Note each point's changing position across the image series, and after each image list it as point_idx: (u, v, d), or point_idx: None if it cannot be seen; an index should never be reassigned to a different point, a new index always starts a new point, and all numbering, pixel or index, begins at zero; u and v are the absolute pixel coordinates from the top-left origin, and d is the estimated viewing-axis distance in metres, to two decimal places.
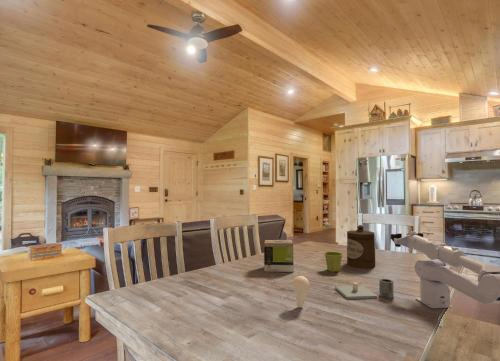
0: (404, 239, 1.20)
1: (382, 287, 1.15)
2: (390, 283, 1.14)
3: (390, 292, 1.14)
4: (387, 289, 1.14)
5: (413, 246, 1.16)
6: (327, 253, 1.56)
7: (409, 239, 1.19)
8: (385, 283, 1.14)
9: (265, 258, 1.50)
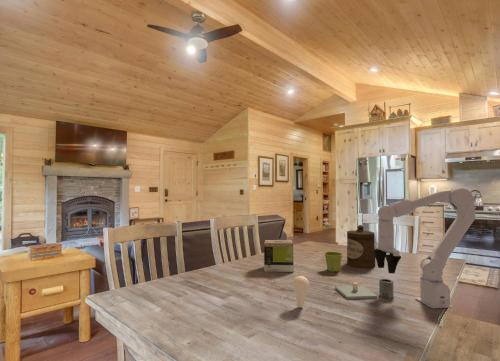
0: None
1: (382, 287, 1.15)
2: (390, 283, 1.14)
3: (390, 292, 1.14)
4: (387, 289, 1.14)
5: (392, 238, 1.15)
6: (327, 253, 1.56)
7: (386, 245, 1.14)
8: (385, 283, 1.14)
9: (265, 258, 1.50)
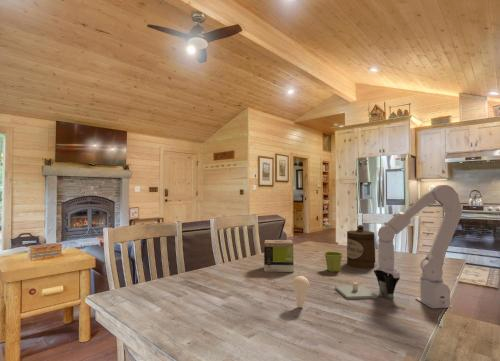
0: (389, 271, 1.13)
1: (382, 287, 1.15)
2: None
3: None
4: None
5: (392, 259, 1.14)
6: (327, 253, 1.56)
7: (386, 266, 1.14)
8: (385, 283, 1.14)
9: (265, 258, 1.50)
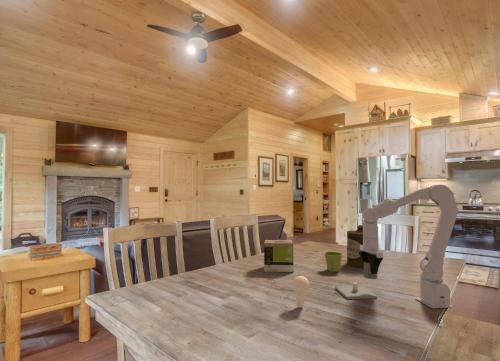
0: None
1: (366, 268, 1.17)
2: None
3: None
4: None
5: (376, 240, 1.16)
6: (327, 253, 1.56)
7: (370, 247, 1.16)
8: (369, 264, 1.16)
9: (265, 258, 1.50)
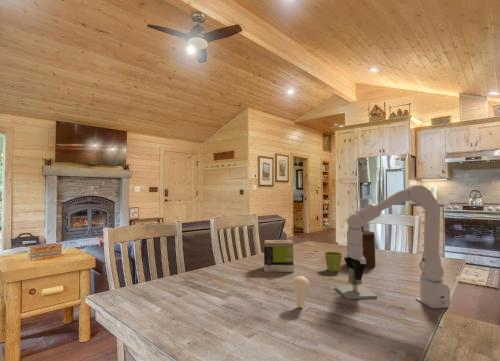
0: None
1: (351, 274, 1.18)
2: None
3: None
4: None
5: (360, 246, 1.17)
6: (327, 253, 1.56)
7: (355, 253, 1.17)
8: (353, 270, 1.17)
9: (265, 258, 1.50)
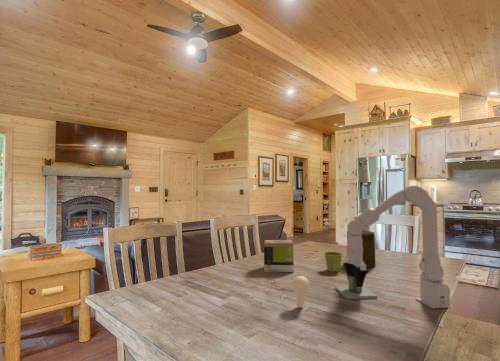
0: (357, 264, 1.16)
1: (351, 282, 1.18)
2: None
3: (358, 287, 1.17)
4: (355, 284, 1.17)
5: (360, 252, 1.17)
6: (327, 253, 1.56)
7: (355, 259, 1.17)
8: (353, 278, 1.17)
9: (265, 258, 1.50)
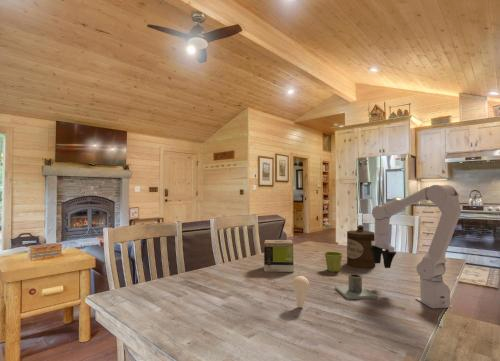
0: None
1: (351, 282, 1.18)
2: (358, 278, 1.17)
3: (358, 287, 1.17)
4: (355, 284, 1.17)
5: (387, 235, 1.24)
6: (327, 253, 1.56)
7: (382, 242, 1.24)
8: (353, 278, 1.17)
9: (265, 258, 1.50)
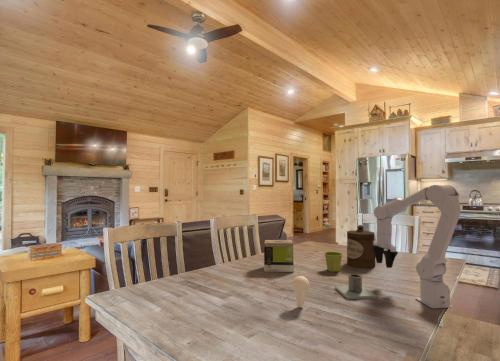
0: None
1: (351, 282, 1.18)
2: (358, 278, 1.17)
3: (358, 287, 1.17)
4: (355, 284, 1.17)
5: (389, 235, 1.25)
6: (327, 253, 1.56)
7: (384, 242, 1.25)
8: (353, 278, 1.17)
9: (265, 258, 1.50)
